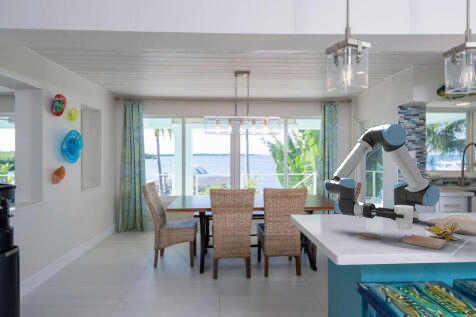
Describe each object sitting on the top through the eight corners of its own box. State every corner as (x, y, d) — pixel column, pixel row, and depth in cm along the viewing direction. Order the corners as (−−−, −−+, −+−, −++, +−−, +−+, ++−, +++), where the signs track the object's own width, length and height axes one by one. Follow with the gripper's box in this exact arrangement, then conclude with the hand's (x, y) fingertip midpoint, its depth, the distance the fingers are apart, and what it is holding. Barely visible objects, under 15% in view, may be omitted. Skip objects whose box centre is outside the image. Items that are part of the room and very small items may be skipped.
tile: (411, 234, 148) (446, 240, 138) (412, 237, 148) (446, 243, 138) (403, 239, 140) (439, 245, 130) (403, 242, 140) (439, 249, 130)
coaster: (362, 233, 158) (362, 232, 157) (384, 237, 150) (384, 236, 150) (351, 237, 150) (351, 236, 150) (375, 242, 142) (375, 241, 142)
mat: (404, 236, 153) (404, 235, 153) (445, 242, 141) (445, 241, 141) (392, 242, 142) (392, 241, 142) (435, 250, 130) (435, 249, 130)
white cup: (403, 230, 140) (403, 208, 140) (390, 226, 147) (390, 205, 147) (417, 229, 142) (417, 207, 142) (404, 225, 150) (403, 204, 150)
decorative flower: (419, 230, 158) (424, 211, 157) (442, 236, 156) (448, 217, 155) (433, 240, 143) (439, 219, 142) (459, 246, 141) (465, 225, 140)
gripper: (373, 214, 165) (422, 221, 148) (356, 220, 151) (407, 228, 134) (373, 200, 165) (422, 205, 148) (356, 204, 151) (407, 210, 134)
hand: (415, 216), depth 141 cm, fingers closed on white cup, 7 cm apart
